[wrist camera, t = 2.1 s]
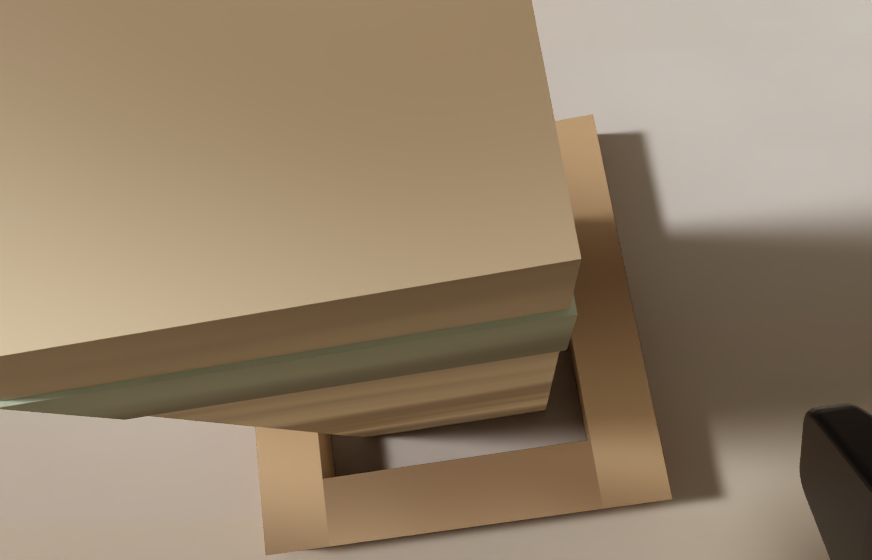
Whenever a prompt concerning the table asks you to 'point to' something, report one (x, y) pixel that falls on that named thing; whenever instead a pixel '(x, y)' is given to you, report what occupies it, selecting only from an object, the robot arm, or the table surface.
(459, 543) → the table surface
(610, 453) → the square wooden frame
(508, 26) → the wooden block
